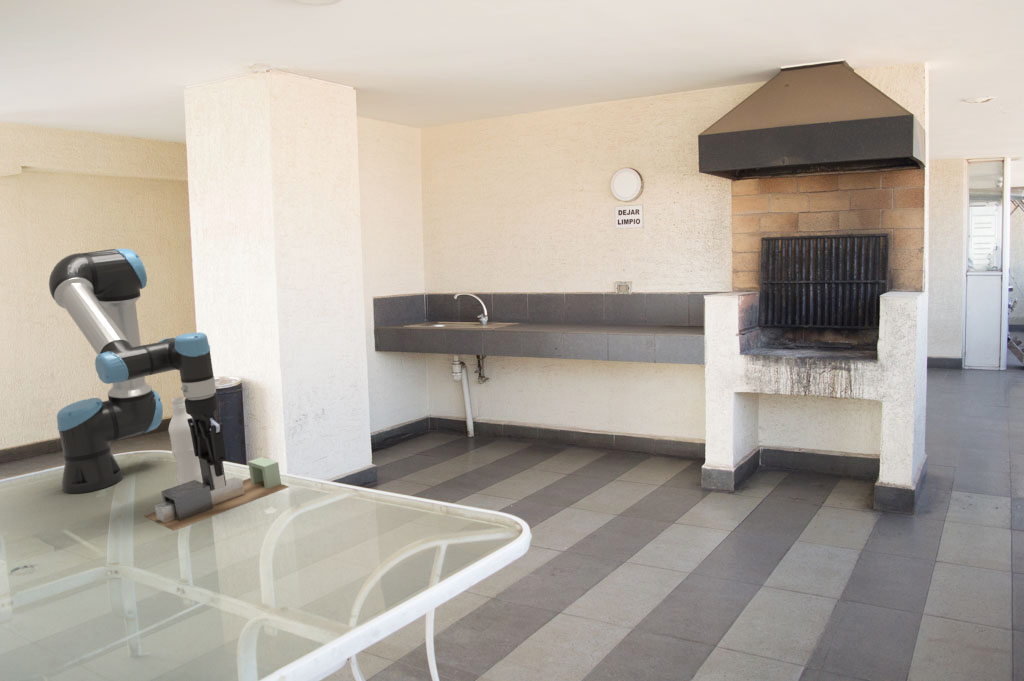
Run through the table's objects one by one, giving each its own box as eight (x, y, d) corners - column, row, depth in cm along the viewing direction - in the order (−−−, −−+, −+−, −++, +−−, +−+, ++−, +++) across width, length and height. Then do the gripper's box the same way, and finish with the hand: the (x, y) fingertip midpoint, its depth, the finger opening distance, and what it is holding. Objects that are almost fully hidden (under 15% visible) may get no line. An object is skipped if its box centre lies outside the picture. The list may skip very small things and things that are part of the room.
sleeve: (165, 514, 197) (161, 491, 195) (198, 502, 203) (194, 479, 202) (179, 521, 191) (175, 497, 190) (213, 508, 198) (209, 485, 196)
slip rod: (157, 519, 193) (148, 473, 191) (236, 490, 208) (230, 447, 206) (164, 523, 191) (156, 476, 188) (244, 493, 206) (238, 449, 203)
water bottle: (198, 481, 221) (183, 393, 216) (212, 486, 217) (197, 396, 212) (173, 490, 216) (158, 400, 211) (187, 495, 211) (172, 403, 207)
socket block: (251, 483, 214) (248, 461, 212) (264, 478, 216) (261, 457, 215) (267, 488, 208) (264, 466, 207) (281, 483, 211) (278, 462, 210)
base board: (144, 519, 197) (143, 515, 197) (257, 478, 219) (256, 475, 219) (174, 534, 186) (173, 530, 186) (290, 490, 209) (289, 486, 208)
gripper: (169, 395, 200) (184, 484, 205) (202, 404, 189) (217, 497, 193) (198, 388, 206) (212, 475, 210) (232, 396, 194) (246, 487, 199)
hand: (214, 485), depth 202 cm, fingers closed on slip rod, 4 cm apart
